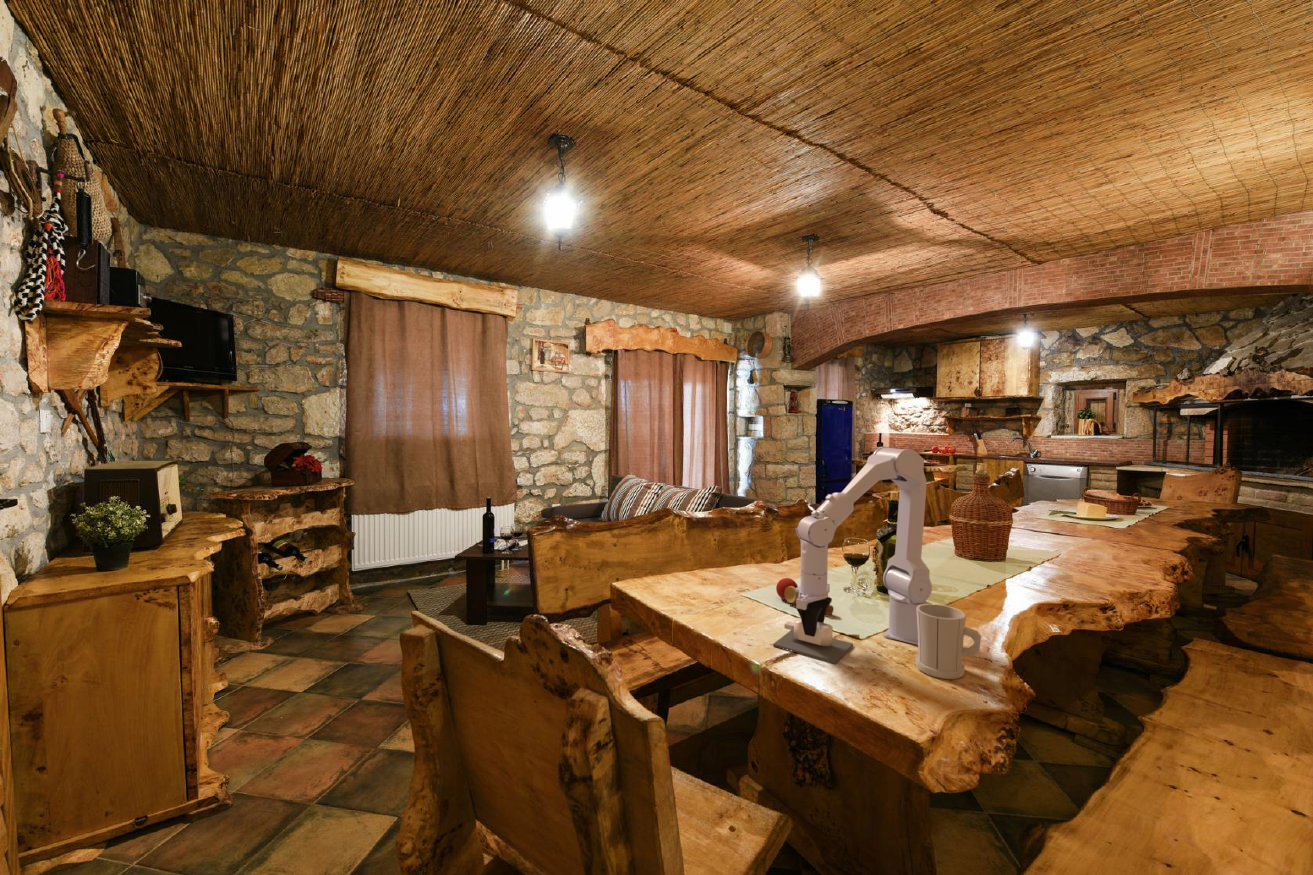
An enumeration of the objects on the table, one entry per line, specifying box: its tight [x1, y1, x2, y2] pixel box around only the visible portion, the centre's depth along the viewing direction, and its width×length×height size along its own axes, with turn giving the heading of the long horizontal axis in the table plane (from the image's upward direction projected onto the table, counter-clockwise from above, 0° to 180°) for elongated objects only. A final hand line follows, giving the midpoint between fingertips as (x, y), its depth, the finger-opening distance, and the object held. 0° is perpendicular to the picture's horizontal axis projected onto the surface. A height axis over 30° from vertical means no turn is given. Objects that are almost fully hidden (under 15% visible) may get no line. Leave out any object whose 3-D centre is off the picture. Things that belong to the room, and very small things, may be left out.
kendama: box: [775, 577, 834, 617], centre depth 144 cm, size 8×6×18 cm
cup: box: [914, 603, 982, 680], centre depth 107 cm, size 10×9×12 cm
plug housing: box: [784, 617, 834, 646], centre depth 119 cm, size 11×4×4 cm, turn 52°
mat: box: [772, 630, 854, 665], centre depth 118 cm, size 14×11×1 cm
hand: (813, 632), depth 118 cm, fingers closed on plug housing, 3 cm apart
